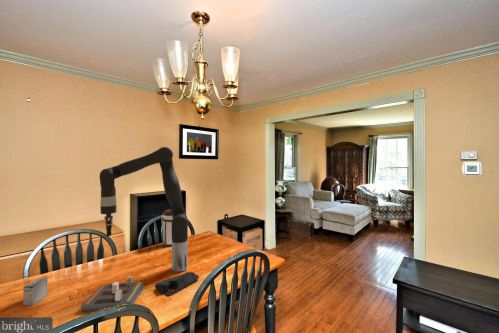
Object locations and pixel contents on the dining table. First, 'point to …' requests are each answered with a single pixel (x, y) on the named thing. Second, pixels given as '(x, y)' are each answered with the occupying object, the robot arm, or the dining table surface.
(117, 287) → the handle
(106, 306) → the breaker panel
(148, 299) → the dining table surface
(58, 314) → the dining table surface
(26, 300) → the medicine box
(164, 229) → the coffee press
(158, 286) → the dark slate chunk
